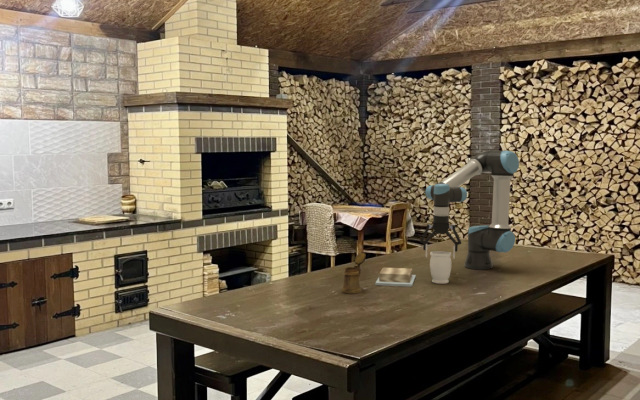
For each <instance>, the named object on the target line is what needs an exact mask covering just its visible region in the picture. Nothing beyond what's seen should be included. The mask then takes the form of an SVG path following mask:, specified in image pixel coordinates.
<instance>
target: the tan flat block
mask: <svg viewBox="0 0 640 400" xmlns="http://www.w3.org/2000/svg"><path fill="white" fill-rule="evenodd" d="M412 275H413V268H407V267H403V268H402V267H400V268H399V267H382V269H381V270H380V271H379V276H378V278H379V281H382V282H406V283H410V280H411V278H412Z"/></svg>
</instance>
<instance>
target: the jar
mask: <svg viewBox="0 0 640 400" xmlns="http://www.w3.org/2000/svg"><path fill="white" fill-rule="evenodd" d="M429 255H430V259H429V270H430V275H431V278H432V280H431V282H432V283H434V284H437V285H438V284H441V285H442V284H448V283H449V282H450V281H449V280H450V279H449V278H450V276H451V270H452V259H451V258H452V257H451V256H452V252H450V251H444V250H435V251H433V250H432V251H430V252H429Z"/></svg>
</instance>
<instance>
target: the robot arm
mask: <svg viewBox="0 0 640 400" xmlns="http://www.w3.org/2000/svg"><path fill="white" fill-rule="evenodd" d="M519 168H520V160H519V157H518V156H517V154H516V153H515V152H514V151H511V150H506V149H505V150H493V149H492V150H491V149H490V150H485V151H483V152H480V153H478V154H476V155H475V156H473V157H471V158H470V159H468V160H467V163H466V164H465V165H463V166H462V167H460V168H458V169H457V170H456V171H455V172H453V173H451V174H450V175H449V176H448V177H446V178H444V179H443V180H441V181H439V183H436V184H434V185H428V186H426V188H425V196H426V198H427V199H428V200H432V201H433V213H432V214H433V221H432V224H429V223H428V224H427V225H426V229H425V231H424V232H423V235H422V237H421V238H420V240H419V243H421V244H423V246H422V247H423V249H422V250H423V251H425V258H428V242H429V241H430V240H431V239H432V237H434V235H435V234H437V235H440V234H441V235H444V234H446V235H447V236H448V238H449V240H450V241H452V243H453V252H452V254H453V255H452V256H453V257H452V258H453V259H454V260H455V258H456V253H457V252H458V248H459V247H458V246H459V245H461V244H462V240H461V239H460V237H459V234H458V233H457V230H456V225H455V224H452V225H450V223H449V220H450V218H449V217H450V216H449V213H450V203H462V202H464V201H466V200H467V197H468V191H467V190H466V188H465V187H462V185H463V184H466V182H467V181H469V180H470V179H472V178H473V177H475V176H478V175H481V174H483V173H490V176H491V177H492V178H493V188H492V191H493V192H492V209H491V223H490V224H487V225H485V224H484V225H473V226H470V227H469V228H468V232H467V254H466V257H465V261H464V267H465V268H467V269H470V270H491V269H492V268H493V261H492V257H491V255H490V253H491V252H492V251H493V252H497V253H509V252H510V251H511V250H512V249H513V248H514V246H515V243H516V236H515V233H514V232H512V227H511V225H509V217H510V216H509V215H510V197H511V195H510V194H511V180H512V179H513V178H514V176H515V173H516V172H518V170H519ZM430 229H433V231H432V232H431V233H430V234H429V236H427V234H428V232H429V230H430ZM449 229H450V230H452V232H453V235H454V236H452V234H451V233H450V232H449ZM426 236H427V237H426ZM454 237H455V238H454ZM425 238H426V239H425ZM455 239H456V240H455ZM490 251H491V252H490ZM490 268H491V269H490Z"/></svg>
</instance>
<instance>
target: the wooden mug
mask: <svg viewBox="0 0 640 400" xmlns="http://www.w3.org/2000/svg"><path fill="white" fill-rule="evenodd" d="M366 258H367V255H366V252H365V251H361V252H359V253H358V254H357V255H356V256H355V258H354V263H355V264H354V266H353V267H352V266H348V267H345V268H344V271H343V276H344V277H343V283H342V289H341V292H342V293H344V294H359V293H361V292H362V289H361V285H360V277H361V271H362V270H361V266H362V264H363V263H364V262H365V261H366Z"/></svg>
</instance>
